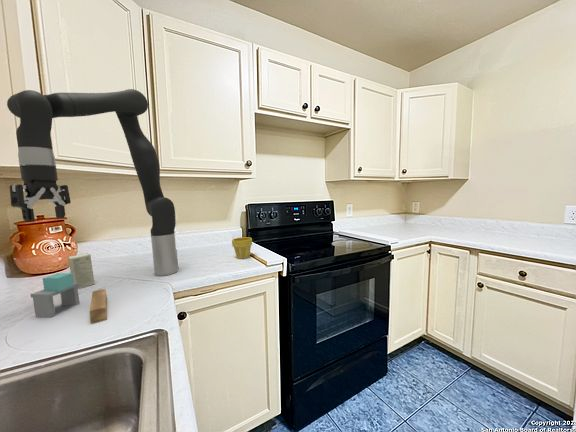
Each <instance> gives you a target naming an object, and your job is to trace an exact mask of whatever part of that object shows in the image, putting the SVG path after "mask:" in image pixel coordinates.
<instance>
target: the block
mask: <svg viewBox="0 0 576 432" xmlns="http://www.w3.org/2000/svg"><path fill="white" fill-rule="evenodd" d="M42 283H43V289H44V291H61V290H64V289H66V288H69V287H71V286H74V282H73V274H72V273H71V272H58V273H53V274H51V275H49V276H45V277H42Z"/></svg>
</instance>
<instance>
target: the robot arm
mask: <svg viewBox="0 0 576 432" xmlns="http://www.w3.org/2000/svg"><path fill="white" fill-rule="evenodd" d="M6 101H7V102H6V105H7V106H6V107H7V109H8V111H10V113H11V114H12V115H14V116H15V117H17V118H19V119H20V120H19V126H18V127H17V128H16V133H15V134H16V140H17V141H16V142H17V150H18V151H17V157H18V165H19V171H20V172H19V173H20V178H21V180H22V182H23V184H21V183H20V184H17V183H16V184H10V185H9V197H10V206H11V207H13V208H18V209H19V208H20V210H21V215H22V219H23V221H25V223H34V222H35V221H36V220H35V219H36V218H35V214H34V213H35V212H34V208H33V206H34V205H35V203H37V202H38V201H39V200H40V201H41V200H43V201H44V200H48V201H49V202H51V203H52V204H53V205H54V211H55V218H56V219H64V218H66V209H65V206H66V205H68V204H69V205H70V204H71V197H70V192H69V186H68V184H62V185H61V184H57V181H58V180H59V179H58V170H57V162H56V158H55V153H54V150H53V143H52V136H51V132H52V128H53V119H55V118H56V119H57V118H74V117H76V118H78V117H89V116H96V115H102V114H107V113H112V112H114V113H115V115H116V116H117V118H118V121H119V123H120V126H121V129H122V131H123V134H124V137H125V140H126V143H127V147H128V149H129V153H130V157H131V160H132V164H133V167H134V168H135V172H136V175H137V178H138V181H139V183H140V187H141V190H142V193H143V199H144V205H145V209H146V212H147V214H148V215H149V216H151V221H152V222H151V223H152V226H151V228H150V239H151V247H152V248H151V249H152V259H153V260H152V261H153V271H154V276H158V277H160V276H161V277H162V276H163V277H164V276H169V275H173V274H175V273H177V272H178V271H179V263H178V262H179V260H178V259H179V258H178V249H177V245H176V235H175V233H176V232H175V229H176V207H175V205H174V202H173V201H172V200H171V199H170V198H168V197H165V196H164V193H163V190H162V187H161V181H160V180H161V178H160V177H161V175H160V174H161V173H160V172H161V171H160V170H161V168H160V160H159V157H158V155H157V150H156V148H155V147H154V145H153V144H152V142H151V141H150V140H149V139H148V137H146V135H145V134H144V132H143V130H142V128H141V125H140V122H139V118H138V116H141V115H143V114H145V113H146V112H147V110H148V108H149V103H148V102H149V101H148V99H147V98H146V96H145V95H144V94H143V93H142V92H140V91H139V90H137V89H134V88H128V89H124V90H119V91H113V92H96V93H95V92H54V93H51V94H50V93H49V94H42V93H40V92H39V91H36V90H32V89H31V90H29V89H26V90H22V91H20V92H18V93H14V94H12V95H10V96H9V98H8V99H7V100H6ZM24 192H25V195H24Z"/></svg>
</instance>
